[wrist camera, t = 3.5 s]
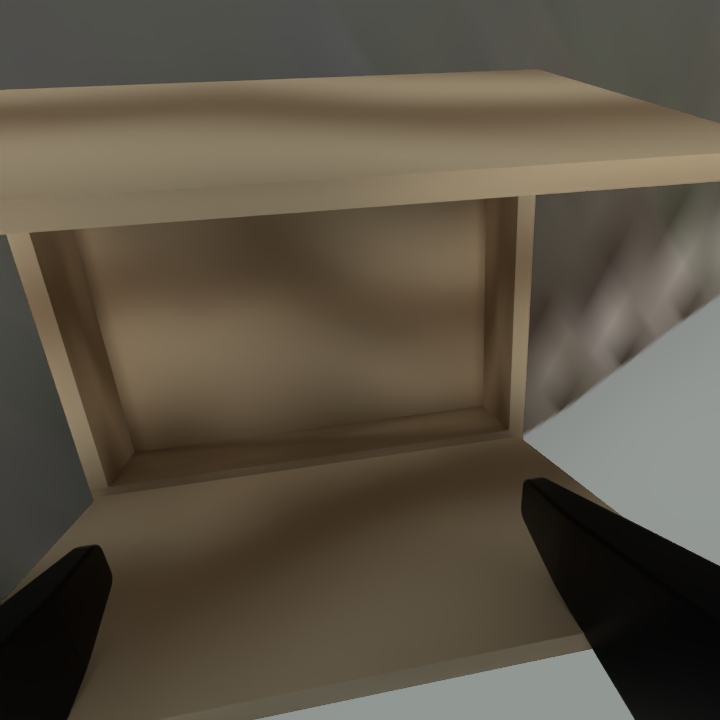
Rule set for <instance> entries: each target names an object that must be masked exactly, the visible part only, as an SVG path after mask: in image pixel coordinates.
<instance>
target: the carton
mask: <svg viewBox="0 0 720 720" xmlns="http://www.w3.org/2000/svg"><path fill="white" fill-rule="evenodd" d="M535 197H536V195H527V196H514V197H501V198H487V199H474V200H460V201H447V202H434V203H420V204H407V205H393V206H380V207H367V208H353V209H340V210H326V211H313V212H300V213H286V214H273V215H259V216H246V217H233V218H219V219H206V220H192V221H179V222H166V223H152V224H139V225H125V226H112V227H99V228H85V229H72V230H59V231H45V232H32V233H18V234H6V235H7V238H8V241H9V244H10V247H11V251H12V254H13V257H14V260H15V263H16V266H17V269H18V272H19V275H20V278H21V281H22V284H23V287H24V290H25V293H26V296H27V299H28V302H29V305H30V308H31V312H32V315H33V318H34V321H35V324H36V327H37V330H38V333H39V336H40V339H41V342H42V345H43V348H44V351H45V354H46V357H47V360H48V363H49V366H50V370H51V373H52V376H53V379H54V382H55V385H56V388H57V391H58V394H59V397H60V400H61V403H62V406H63V409H64V412H65V415H66V418H67V421H68V424H69V427H70V431H71V434H72V437H73V440H74V443H75V446H76V449H77V452H78V455H79V458H80V461H81V464H82V467H83V470H84V473H85V476H86V479H87V482H88V485H89V488H90V492H91V495H92V498H93V501H95V500H96V499H97V497H103V496H110V495H117V494H124V493H131V492H138V491H145V490H151V489H158V488H165V487H172V486H179V485H186V484H193V483H200V482H207V481H214V480H221V479H228V478H235V477H242V476H249V475H256V474H263V473H270V472H277V471H283V470H290V469H297V468H304V467H311V466H318V465H325V464H332V463H339V462H346V461H353V460H360V459H367V458H374V457H381V456H388V455H395V454H402V453H408V452H415V451H422V450H429V449H436V448H443V447H450V446H457V445H464V444H471V443H478V442H485V441H492V440H499V439H506V438H513V437H520V438H521V439H523V431H524V411H525V392H526V372H527V353H528V333H529V314H530V294H531V275H532V255H533V236H534V216H535Z"/></svg>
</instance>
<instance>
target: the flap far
mask: <svg viewBox="0 0 720 720" xmlns="http://www.w3.org/2000/svg"><path fill="white" fill-rule="evenodd" d="M535 477H544V478H547V479H549V480H551V481H553V482H555V483H557V484H559V485H561V486H563V487H565V488H567V489H568V490H570V491H572V492H574V493H576V494H578V495H580V496H582V497H584V498H586V499H588V500H590V501H592V502H594V503H596V504H598V505H600V506H602V507H604V508H606V509H608V510H610V511H612V512H614V513H616V514H618V513H617V512H616V511H614V510H613V509H612V508H611V507H609V506H608V505H607V504H605V503H604V502H603V501H601V500H600V499H599V498H597V497H596V496H595V495H594V494H593V493H591V492H590V491H589V490H587V489H586V488H585V487H583V486H582V485H581V484H579V483H578V482H577V481H575V480H574V479H573V478H572V477H571V476H569V475H568V474H567V473H565V472H564V471H563V470H561V469H560V468H559V467H557V466H556V465H555V464H554V463H552V462H551V461H550V460H549V459H547V458H546V457H545V456H543V455H542V454H541V453H539V452H538V451H537V450H536V449H534V448H533V447H532V446H530V445H529V444H528V443H526V442H525V441H524V440H523V439H521V438H520V437H513V438H506V439H499V440H492V441H485V442H478V443H471V444H464V445H457V446H450V447H443V448H436V449H429V450H422V451H415V452H408V453H402V454H395V455H388V456H381V457H374V458H367V459H360V460H353V461H346V462H339V463H332V464H325V465H318V466H311V467H304V468H297V469H290V470H283V471H277V472H270V473H263V474H256V475H249V476H242V477H235V478H228V479H221V480H214V481H207V482H200V483H193V484H186V485H179V486H172V487H165V488H158V489H151V490H145V491H138V492H131V493H124V494H117V495H110V496H103V497H97V499H96V500H95V501H94V502H93V503H92V504H91V505H90V506H89V507H88V508H87V509H86V511H85V512H84V513H83V514H82V515H81V516H80V517H79V518H78V519H77V520H76V522H75V523H74V524H73V525H72V526H71V527H70V528H69V529H68V530H67V531H66V532H65V534H64V535H63V536H62V537H61V538H60V539H59V540H58V541H57V542H56V543H55V545H54V546H53V547H52V548H51V549H50V550H49V551H48V552H47V553H46V554H45V555H44V557H43V558H42V559H41V560H40V561H39V562H38V563H37V564H36V565H35V566H34V568H33V569H32V570H31V571H30V572H29V573H28V574H27V575H26V576H25V577H24V578H23V580H22V581H21V582H20V583H19V584H18V585H17V586H16V587H15V588H14V589H13V591H12V592H11V593H10V594H9V595H8V596H7V597H6V598H5V599H4V600H3V602H2V603H4V602H5V601H6V600H8V599H9V598H10V597H11V596H13V595H14V594H15V593H17V592H18V591H19V590H21V589H22V588H23V587H24V586H26V585H27V584H28V583H30V582H31V581H32V580H34V579H35V578H36V577H37V576H39V575H40V574H41V573H43V572H44V571H45V570H46V569H48V568H49V567H50V566H52V565H53V564H54V563H56V562H57V561H58V560H59V559H61V558H62V557H63V556H65V555H66V554H67V553H69V552H70V551H71V550H73V549H74V548H76V547H79V546H86V545H92V544H97V545H99V546H100V547H101V548H102V550H103V552H104V554H105V557H106V559H107V562H108V564H109V567H110V569H111V572H112V577H113V581H112V587H111V590H110V594H109V597H108V601H107V604H106V607H105V611H104V614H103V618H102V621H101V625H100V628H99V632H98V635H97V638H96V642H95V645H94V649H93V652H92V655H91V659H90V662H89V665H88V668H87V671H86V673H85V676H84V679H83V681H82V684H81V687H80V689H79V692H78V694H77V697H76V699H75V702H74V704H73V707H72V709H71V712H70V715H69V717H68V719H67V720H254V719H259V718H264V717H269V716H273V715H278V714H283V713H288V712H293V711H297V710H302V709H307V708H311V707H316V706H321V705H326V704H331V703H335V702H340V701H345V700H350V699H354V698H359V697H364V696H369V695H373V694H379V693H383V692H388V691H393V690H398V689H402V688H407V687H411V686H417V685H421V684H426V683H431V682H436V681H441V680H445V679H450V678H454V677H460V676H464V675H469V674H474V673H479V672H483V671H488V670H493V669H498V668H503V667H507V666H512V665H517V664H521V663H526V662H531V661H536V660H541V659H546V658H550V657H555V656H560V655H564V654H569V653H574V652H579V651H584V650H589V649H592V647H591V646H590V644H589V642H588V641H587V639H586V637H585V636H584V632H583V631H582V630H581V629H580V627H579V626H578V624H577V622H576V621H575V619H574V617H573V616H572V614H571V612H570V611H569V609H568V607H567V606H566V604H565V602H564V601H563V599H562V597H561V596H560V594H559V592H558V590H557V589H556V587H555V585H554V583H553V581H552V579H551V577H550V575H549V573H548V571H547V569H546V567H545V565H544V562H543V560H542V558H541V556H540V554H539V552H538V550H537V548H536V546H535V543H534V541H533V539H532V537H531V535H530V533H529V531H528V529H527V527H526V524H525V522H524V520H523V518H522V514H521V499H522V488H523V482H524V481H525V480H526V479H529V478H535ZM618 515H620V514H618ZM620 516H621V515H620ZM2 603H1V604H2ZM1 604H0V605H1Z"/></svg>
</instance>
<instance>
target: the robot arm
mask: <svg viewBox="0 0 720 720" xmlns="http://www.w3.org/2000/svg"><path fill="white" fill-rule="evenodd" d="M521 514H522V518H523V520H524V522H525V524H526V527H527V529H528V531H529V533H530V535H531V537H532V539H533V541H534V543H535V546H536V548H537V550H538V552H539V554H540V556H541V558H542V560H543V562H544V565H545V567H546V569H547V571H548V573H549V575H550V577H551V579H552V581H553V583H554V585H555V587H556V589H557V590H558V592H559V594H560V596H561V597H562V599H563V601H564V602H565V604H566V606H567V607H568V609H569V611H570V612H571V614H572V616H573V617H574V619H575V621H576V622H577V624H578V626H579V627H580V629H581V630H582V631H583V632H584V636H585V637H586V639H587V641H588V642H589V644H590V646H591V647H592V649H593V651H594V652H595V654H596V656H597V657H598V659H599V661H600V662H601V664H602V666H603V667H604V669H605V671H606V672H607V674H608V676H609V677H610V679H611V681H612V682H613V684H614V686H615V687H616V689H617V691H618V692H619V694H620V696H621V697H622V699H623V701H624V702H625V704H626V706H627V707H628V709H629V710H630V712H631V714H632V716H633V717H634V719H635V720H720V566H719V565H717V564H715V563H713V562H711V561H709V560H707V559H705V558H703V557H701V556H699V555H697V554H695V553H693V552H691V551H689V550H687V549H685V548H683V547H681V546H679V545H677V544H675V543H673V542H671V541H669V540H667V539H665V538H663V537H661V536H659V535H657V534H655V533H653V532H651V531H650V530H648V529H645V528H644V527H642V526H640V525H638V524H636V523H634V522H632V521H630V520H628V519H626V518H624V517H622V516H620V515H618V514H616V513H614V512H612V511H610V510H608V509H606V508H604V507H602V506H600V505H598V504H596V503H594V502H592V501H590V500H588V499H586V498H584V497H582V496H580V495H578V494H576V493H574V492H572V491H570V490H568V489H567V488H565V487H563V486H561V485H559V484H557V483H555V482H553V481H551V480H549V479H547V478H544V477H535V478H529V479H526V480H525V481H524V482H523V488H522V499H521ZM112 581H113V577H112V572H111V569H110V567H109V564H108V562H107V559H106V557H105V554H104V552H103V550H102V548H101V547H100V546H99V545H97V544H92V545H86V546H79V547H76V548H74V549H73V550H71V551H70V552H69V553H67V554H66V555H65V556H63V557H62V558H61V559H59V560H58V561H57V562H56V563H54V564H53V565H52V566H50V567H49V568H48V569H46V570H45V571H44V572H43V573H41V574H40V575H39V576H37V577H36V578H35V579H34V580H32V581H31V582H30V583H28V584H27V585H26V586H24V587H23V588H22V589H21V590H19V591H18V592H17V593H15V594H14V595H13V596H11V597H10V598H9V599H8V600H6V601H5V602H4V603H2V604H1V605H0V720H67V719H68V717H69V715H70V712H71V709H72V707H73V704H74V702H75V699H76V697H77V694H78V692H79V689H80V687H81V684H82V681H83V679H84V676H85V673H86V671H87V668H88V665H89V662H90V659H91V655H92V652H93V649H94V645H95V642H96V638H97V635H98V632H99V628H100V625H101V621H102V618H103V614H104V611H105V607H106V604H107V601H108V597H109V594H110V590H111V587H112Z"/></svg>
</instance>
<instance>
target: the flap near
mask: <svg viewBox="0 0 720 720" xmlns="http://www.w3.org/2000/svg"><path fill="white" fill-rule="evenodd" d="M715 181H720V123H716V122H713V121H709V120H706V119H703V118H699V117H696V116H693V115H689V114H686V113H683V112H679V111H676V110H673V109H669V108H666V107H663V106H659V105H656V104H653V103H649V102H646V101H642V100H639V99H636V98H632V97H629V96H626V95H622V94H619V93H616V92H612V91H609V90H606V89H602V88H599V87H596V86H592V85H589V84H586V83H582V82H579V81H575V80H572V79H569V78H565V77H562V76H559V75H555V74H552V73H549V72H545V71H542V70H539V69H535V70H509V71H483V72H457V73H431V74H405V75H379V76H353V77H327V78H300V79H274V80H248V81H222V82H196V83H170V84H144V85H118V86H92V87H66V88H40V89H14V90H0V235H5V234H18V233H32V232H45V231H59V230H72V229H85V228H99V227H112V226H125V225H139V224H152V223H166V222H179V221H192V220H206V219H219V218H233V217H246V216H259V215H273V214H286V213H300V212H313V211H326V210H340V209H353V208H367V207H380V206H393V205H407V204H420V203H434V202H447V201H460V200H474V199H487V198H501V197H514V196H527V195H541V194H554V193H567V192H581V191H594V190H608V189H621V188H634V187H648V186H661V185H675V184H688V183H701V182H715Z"/></svg>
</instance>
